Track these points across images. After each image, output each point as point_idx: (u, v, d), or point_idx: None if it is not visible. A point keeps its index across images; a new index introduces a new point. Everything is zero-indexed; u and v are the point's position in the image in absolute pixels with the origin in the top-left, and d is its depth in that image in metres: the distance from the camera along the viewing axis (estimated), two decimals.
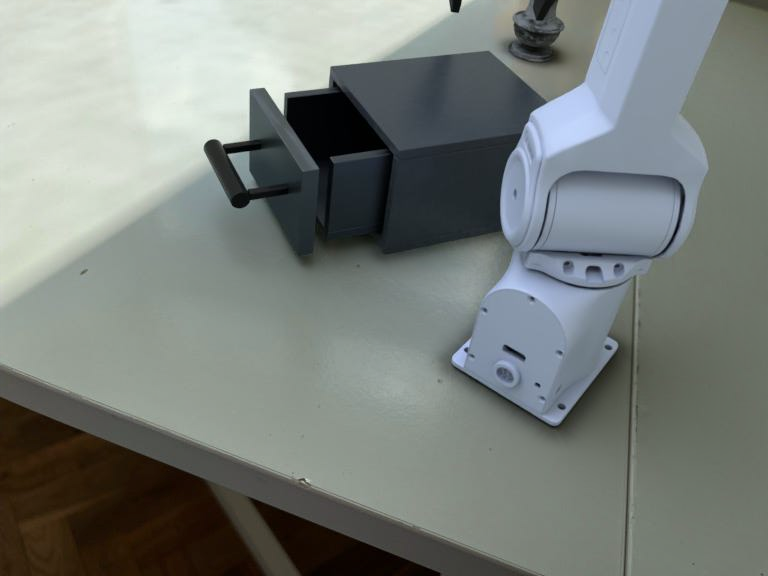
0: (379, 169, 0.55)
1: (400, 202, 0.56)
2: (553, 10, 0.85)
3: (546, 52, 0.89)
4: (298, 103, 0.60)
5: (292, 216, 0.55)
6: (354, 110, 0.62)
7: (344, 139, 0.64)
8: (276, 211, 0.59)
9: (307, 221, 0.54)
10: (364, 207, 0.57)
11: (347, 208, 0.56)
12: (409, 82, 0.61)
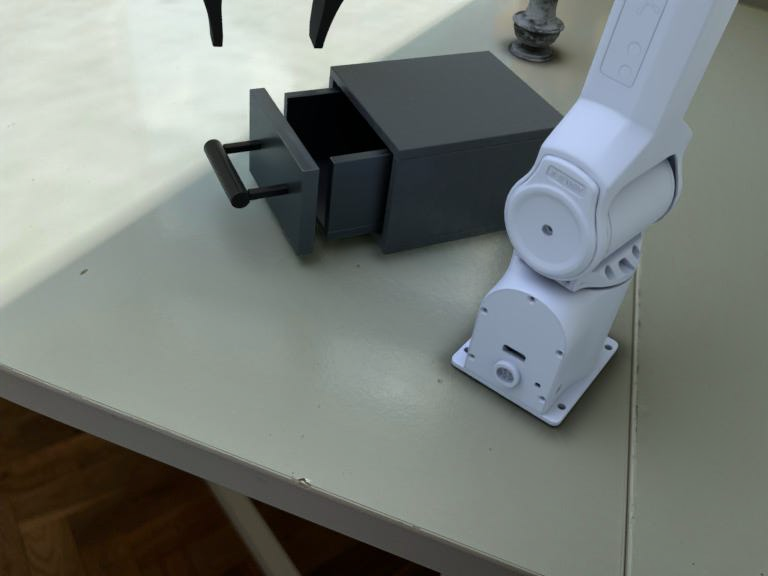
0: (379, 169, 0.55)
1: (400, 202, 0.56)
2: (553, 10, 0.85)
3: (546, 52, 0.89)
4: (298, 103, 0.60)
5: (292, 216, 0.55)
6: (354, 110, 0.62)
7: (344, 139, 0.64)
8: (276, 211, 0.59)
9: (307, 221, 0.54)
10: (364, 207, 0.57)
11: (347, 208, 0.56)
12: (409, 82, 0.61)
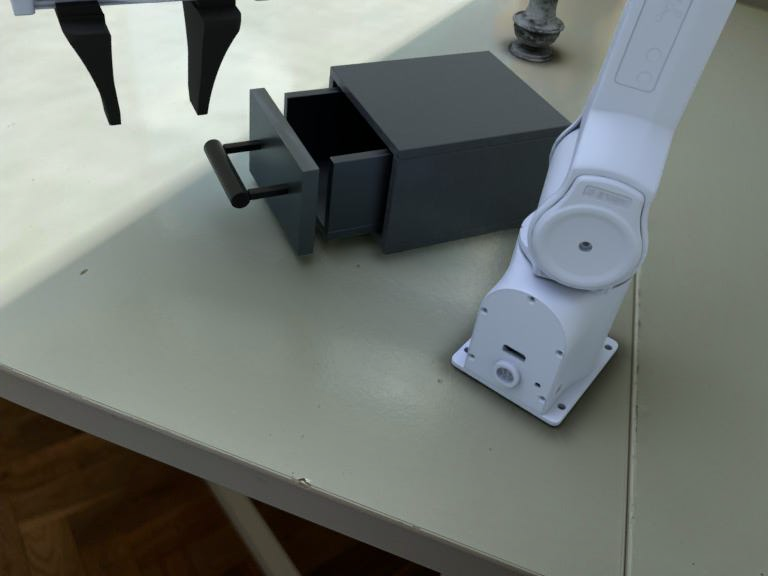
0: (379, 169, 0.55)
1: (400, 202, 0.56)
2: (553, 10, 0.85)
3: (546, 52, 0.89)
4: (298, 103, 0.60)
5: (292, 216, 0.55)
6: (354, 110, 0.62)
7: (344, 139, 0.64)
8: (276, 211, 0.59)
9: (307, 221, 0.54)
10: (364, 207, 0.57)
11: (347, 208, 0.56)
12: (409, 82, 0.61)
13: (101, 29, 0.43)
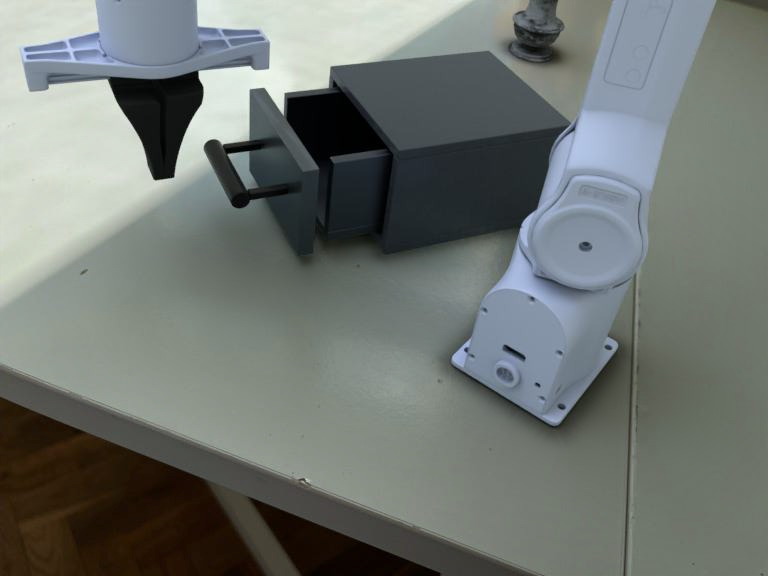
0: (379, 169, 0.55)
1: (400, 202, 0.56)
2: (553, 10, 0.85)
3: (546, 52, 0.89)
4: (298, 103, 0.60)
5: (292, 216, 0.55)
6: (354, 110, 0.62)
7: (344, 139, 0.64)
8: (276, 211, 0.59)
9: (307, 221, 0.54)
10: (364, 207, 0.57)
11: (347, 208, 0.56)
12: (409, 82, 0.61)
13: (151, 98, 0.47)
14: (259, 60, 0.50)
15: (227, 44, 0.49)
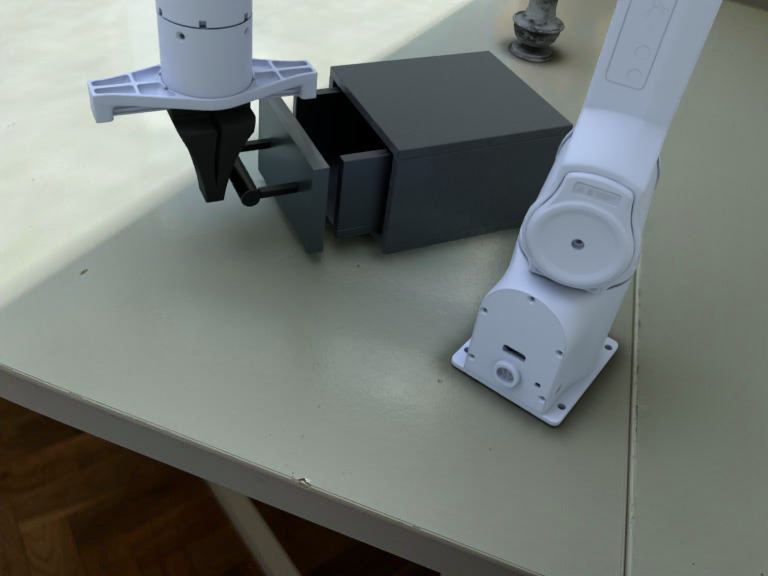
0: (389, 167, 0.55)
1: (400, 202, 0.56)
2: (553, 10, 0.85)
3: (546, 52, 0.89)
4: (307, 102, 0.60)
5: (302, 214, 0.56)
6: None
7: (352, 138, 0.64)
8: (286, 209, 0.59)
9: (317, 219, 0.55)
10: (373, 206, 0.57)
11: (357, 206, 0.56)
12: (409, 82, 0.61)
13: (209, 128, 0.50)
14: (307, 90, 0.53)
15: (278, 75, 0.52)
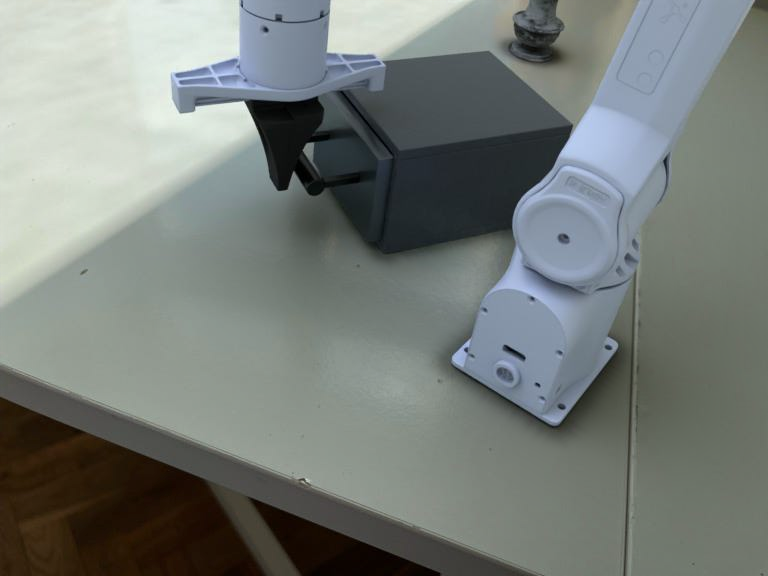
0: None
1: (400, 202, 0.56)
2: (553, 10, 0.85)
3: (546, 52, 0.89)
4: None
5: (363, 204, 0.57)
6: None
7: None
8: (344, 199, 0.61)
9: (379, 208, 0.56)
10: None
11: None
12: (409, 82, 0.61)
13: (288, 118, 0.52)
14: (375, 82, 0.55)
15: (349, 68, 0.54)
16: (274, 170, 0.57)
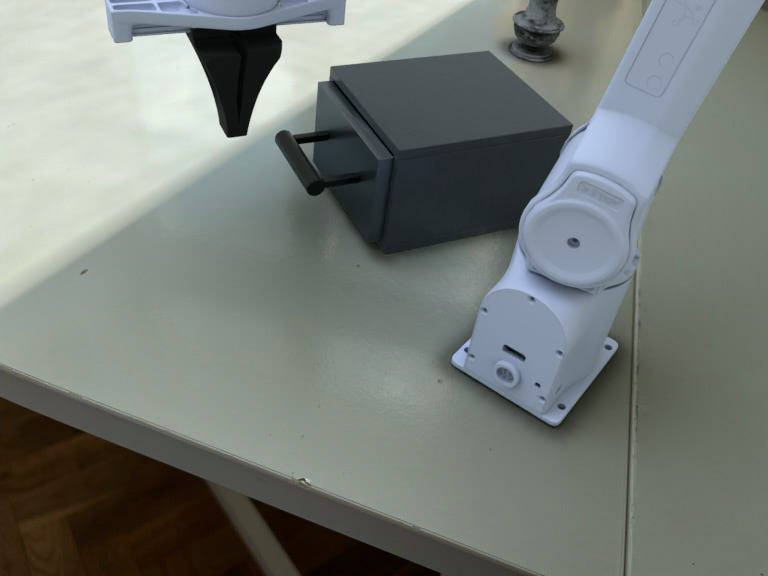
0: None
1: (400, 202, 0.56)
2: (553, 10, 0.85)
3: (546, 52, 0.89)
4: None
5: (363, 204, 0.57)
6: None
7: None
8: (344, 199, 0.61)
9: (379, 208, 0.56)
10: None
11: None
12: (409, 82, 0.61)
13: (232, 51, 0.47)
14: (335, 15, 0.50)
15: None
16: (222, 114, 0.52)
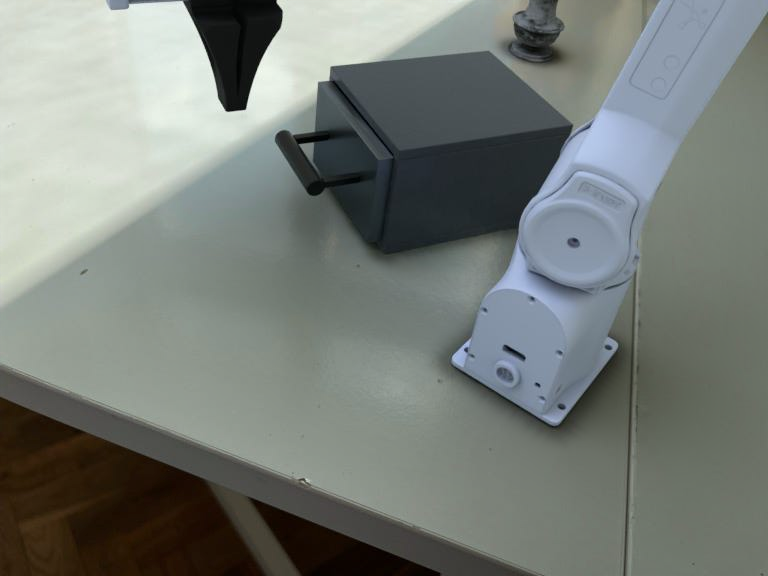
0: None
1: (400, 202, 0.56)
2: (553, 10, 0.85)
3: (546, 52, 0.89)
4: None
5: (363, 204, 0.57)
6: None
7: None
8: (344, 199, 0.61)
9: (379, 208, 0.56)
10: None
11: None
12: (409, 82, 0.61)
13: (232, 20, 0.46)
14: None
15: None
16: (221, 87, 0.51)
